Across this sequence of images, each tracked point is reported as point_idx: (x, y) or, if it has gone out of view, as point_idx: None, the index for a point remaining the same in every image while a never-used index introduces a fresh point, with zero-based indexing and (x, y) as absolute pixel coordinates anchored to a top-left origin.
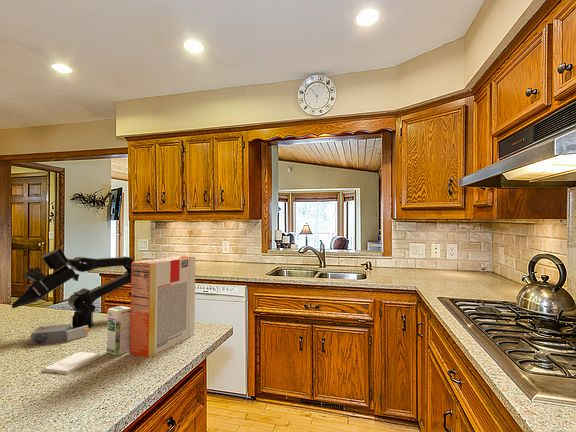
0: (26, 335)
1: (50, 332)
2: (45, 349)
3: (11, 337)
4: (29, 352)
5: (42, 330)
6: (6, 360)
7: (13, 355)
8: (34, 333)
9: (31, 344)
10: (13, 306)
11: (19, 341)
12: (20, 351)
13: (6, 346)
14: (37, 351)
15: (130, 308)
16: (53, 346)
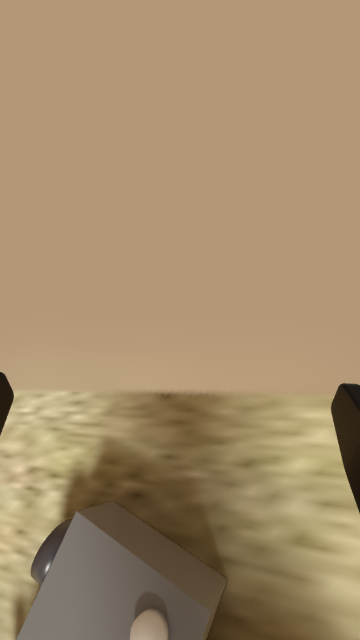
0: (340, 516)
1: (23, 627)
2: (4, 545)
3: None
4: (22, 476)
5: (89, 593)
6: None
7: (36, 419)
8: (69, 529)
9: (110, 503)
10: (337, 408)
11: (221, 460)
12: (61, 446)
13: (175, 400)
14: (8, 507)
15: None
16: (13, 592)
